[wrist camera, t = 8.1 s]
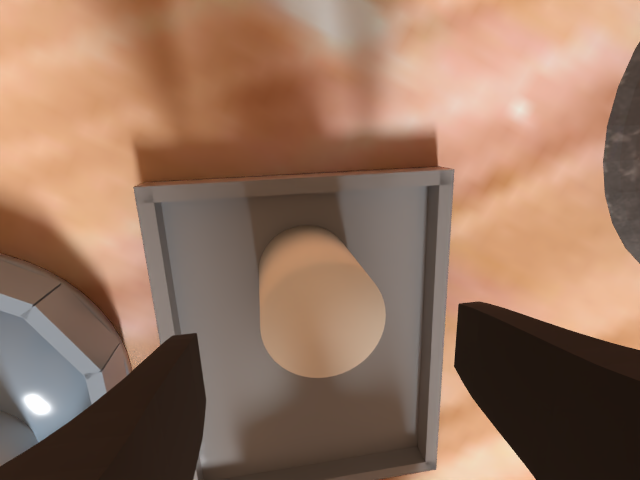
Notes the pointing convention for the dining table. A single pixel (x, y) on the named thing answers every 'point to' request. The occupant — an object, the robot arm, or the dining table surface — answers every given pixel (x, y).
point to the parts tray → (244, 319)
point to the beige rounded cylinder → (317, 304)
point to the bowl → (52, 348)
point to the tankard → (625, 158)
